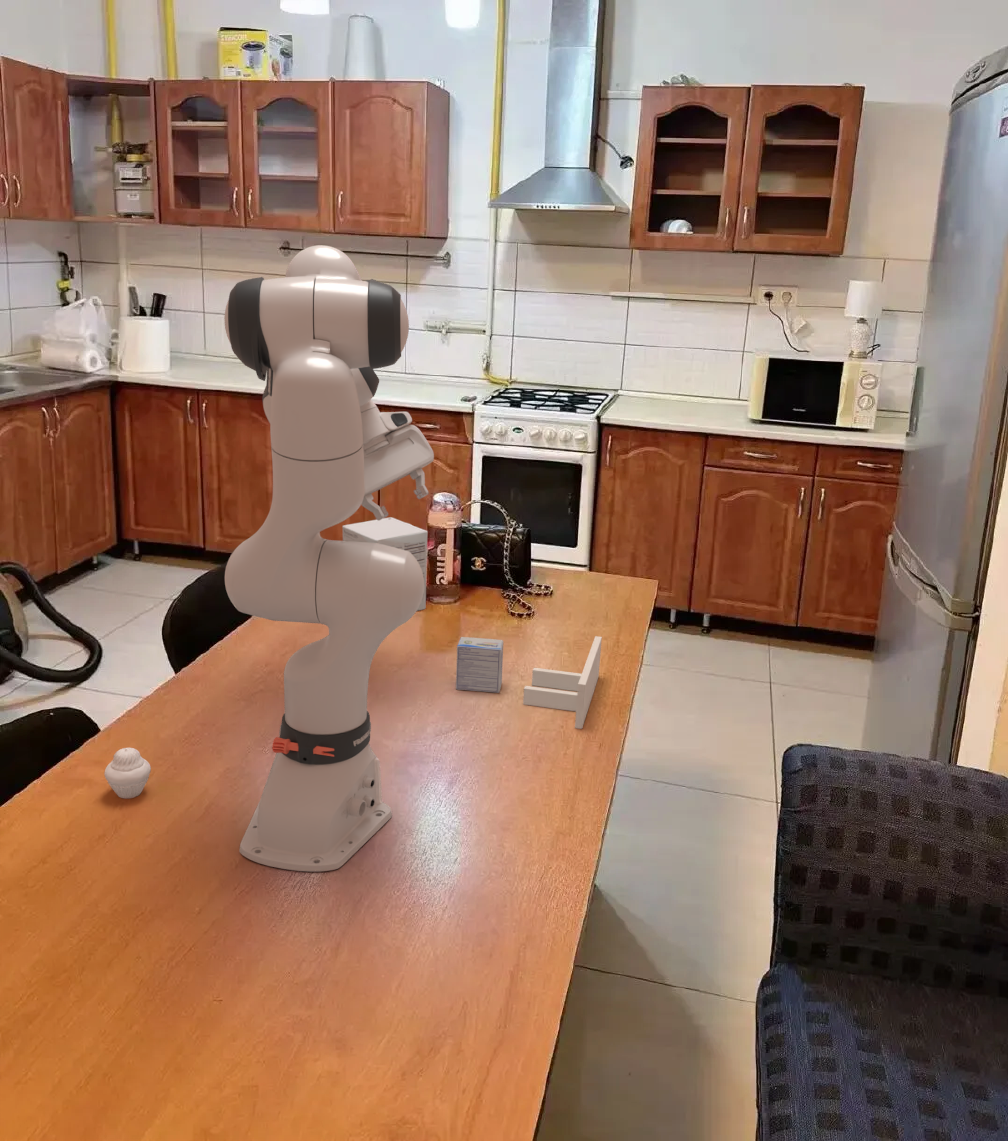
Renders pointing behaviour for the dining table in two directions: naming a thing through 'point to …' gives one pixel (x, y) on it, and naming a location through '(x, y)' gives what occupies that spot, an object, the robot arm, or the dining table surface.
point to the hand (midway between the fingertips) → (404, 507)
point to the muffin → (127, 773)
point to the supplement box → (392, 539)
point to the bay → (566, 686)
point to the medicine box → (479, 664)
